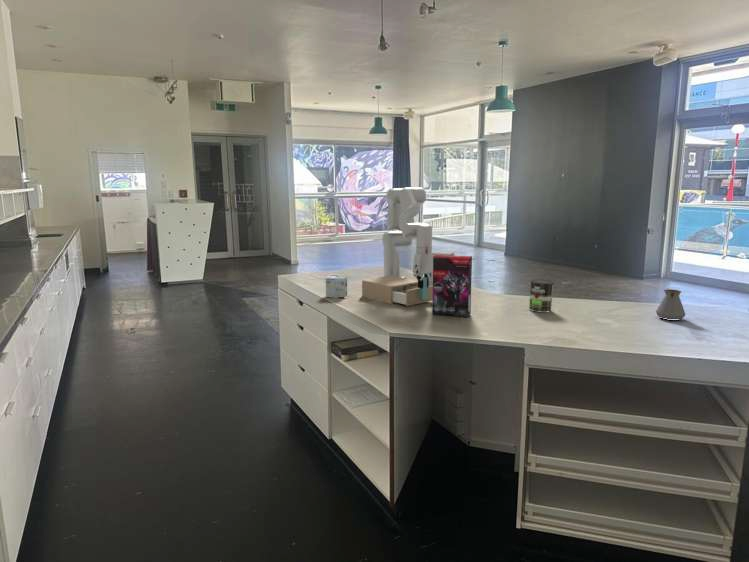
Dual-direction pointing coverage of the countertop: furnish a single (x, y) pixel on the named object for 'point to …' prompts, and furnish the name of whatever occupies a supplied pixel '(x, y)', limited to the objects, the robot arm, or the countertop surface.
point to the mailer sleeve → (383, 287)
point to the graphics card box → (452, 285)
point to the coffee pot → (671, 306)
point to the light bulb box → (336, 286)
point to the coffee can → (541, 295)
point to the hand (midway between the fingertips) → (423, 287)
